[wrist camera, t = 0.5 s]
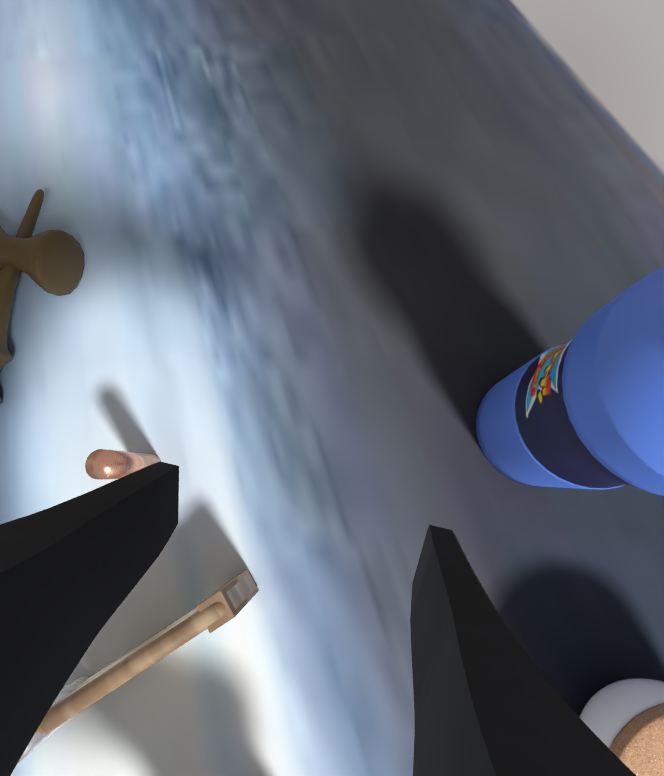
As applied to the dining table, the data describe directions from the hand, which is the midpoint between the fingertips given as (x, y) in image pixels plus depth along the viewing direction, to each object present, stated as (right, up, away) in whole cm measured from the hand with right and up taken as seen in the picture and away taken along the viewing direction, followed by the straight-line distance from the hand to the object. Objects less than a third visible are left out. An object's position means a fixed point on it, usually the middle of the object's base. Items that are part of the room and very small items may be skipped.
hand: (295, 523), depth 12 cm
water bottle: (+17, +1, +23) cm, 28 cm away
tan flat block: (-11, -15, +21) cm, 28 cm away
